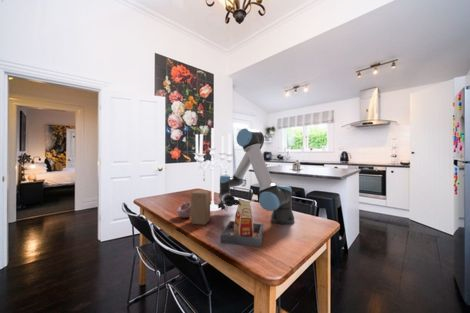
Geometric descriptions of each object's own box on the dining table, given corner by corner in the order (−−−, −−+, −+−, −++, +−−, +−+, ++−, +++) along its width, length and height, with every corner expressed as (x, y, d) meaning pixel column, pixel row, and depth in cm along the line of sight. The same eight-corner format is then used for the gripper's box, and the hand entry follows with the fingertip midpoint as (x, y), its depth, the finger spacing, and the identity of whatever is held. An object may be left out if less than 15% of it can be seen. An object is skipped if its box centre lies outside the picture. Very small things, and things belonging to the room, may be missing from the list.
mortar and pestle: (173, 217, 135) (173, 200, 135) (189, 213, 143) (188, 198, 142) (181, 221, 126) (181, 204, 126) (197, 217, 134) (197, 201, 134)
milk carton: (239, 241, 97) (239, 202, 97) (232, 234, 106) (232, 198, 105) (255, 238, 101) (255, 200, 101) (247, 231, 110) (247, 196, 109)
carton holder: (263, 230, 111) (263, 223, 111) (260, 246, 92) (260, 238, 92) (230, 227, 116) (230, 220, 115) (220, 242, 96) (220, 234, 96)
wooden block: (205, 225, 119) (205, 193, 119) (190, 224, 121) (190, 192, 121) (210, 219, 129) (210, 190, 129) (196, 218, 131) (196, 189, 131)
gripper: (245, 203, 137) (257, 212, 116) (210, 206, 129) (217, 216, 109) (245, 193, 137) (257, 200, 116) (210, 195, 129) (217, 203, 109)
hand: (238, 208), depth 113 cm, fingers open, 13 cm apart
